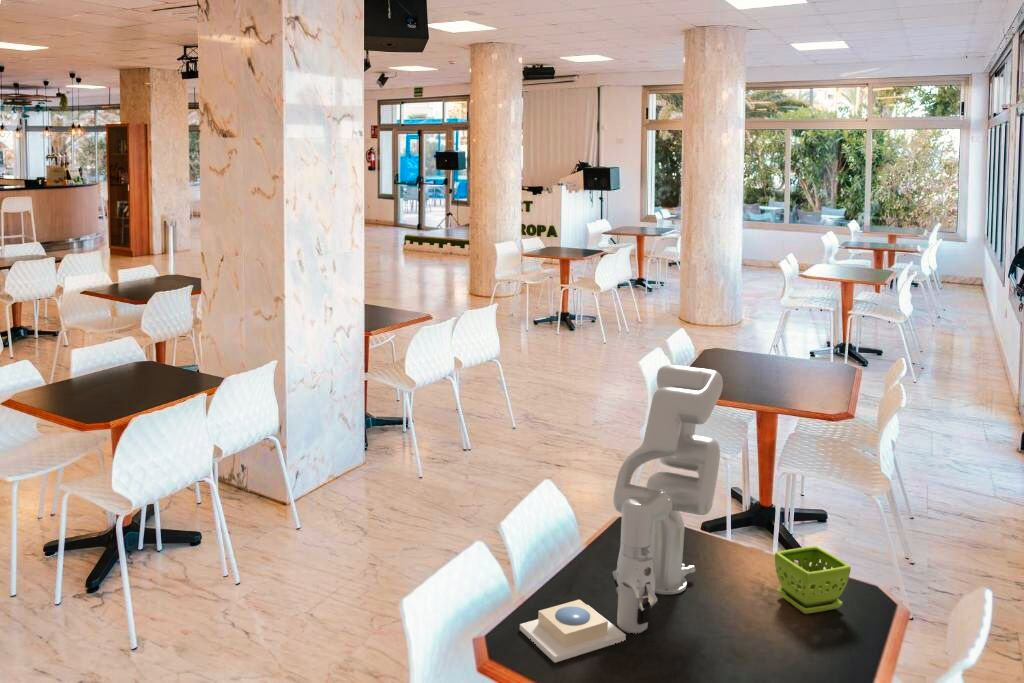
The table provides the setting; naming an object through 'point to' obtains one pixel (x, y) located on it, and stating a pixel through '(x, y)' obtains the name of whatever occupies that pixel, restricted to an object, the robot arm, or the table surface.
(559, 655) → the base
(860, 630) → the table surface
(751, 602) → the table surface
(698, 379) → the robot arm
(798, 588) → the flower pot
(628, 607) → the can
